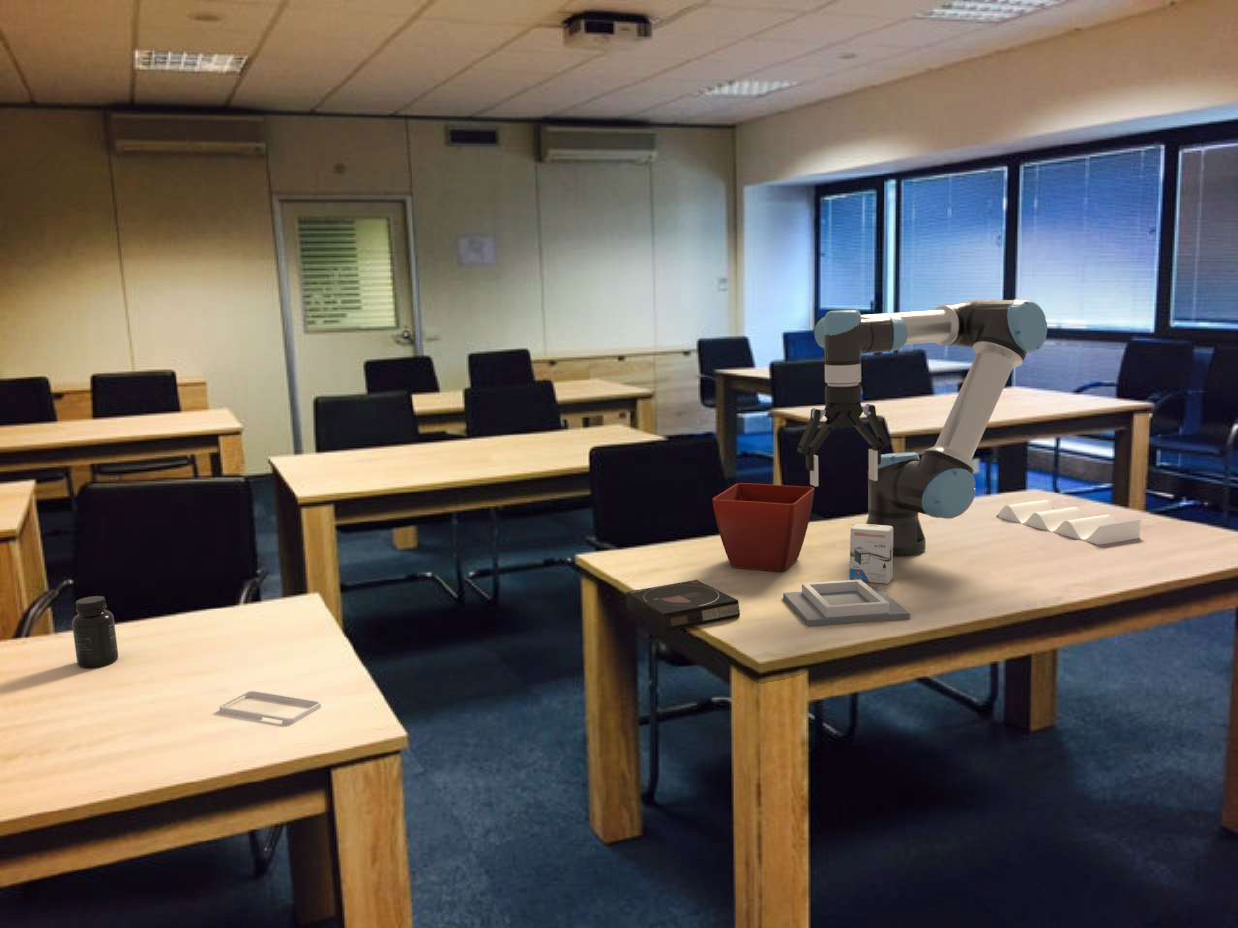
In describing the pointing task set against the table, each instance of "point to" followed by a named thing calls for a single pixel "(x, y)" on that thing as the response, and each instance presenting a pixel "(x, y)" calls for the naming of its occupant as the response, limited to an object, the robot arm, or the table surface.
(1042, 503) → the white wavy ridged block
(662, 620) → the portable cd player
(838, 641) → the table surface
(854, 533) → the ink box
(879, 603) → the square ring on plate
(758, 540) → the plant pot
